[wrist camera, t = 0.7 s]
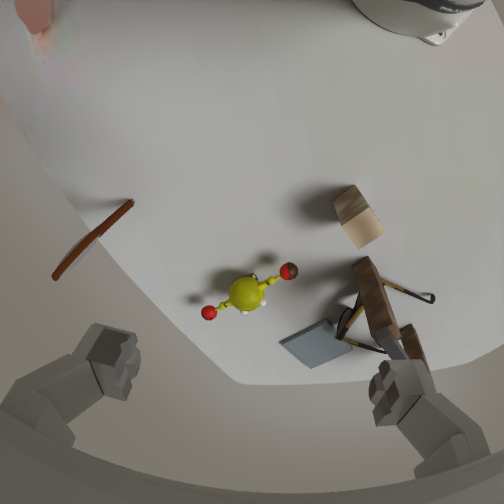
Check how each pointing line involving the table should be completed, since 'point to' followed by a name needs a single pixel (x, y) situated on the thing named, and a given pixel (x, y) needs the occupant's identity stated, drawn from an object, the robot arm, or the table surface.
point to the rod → (390, 344)
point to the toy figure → (249, 292)
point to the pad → (316, 344)
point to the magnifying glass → (88, 242)
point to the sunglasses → (352, 314)
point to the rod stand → (384, 310)
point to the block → (357, 217)
